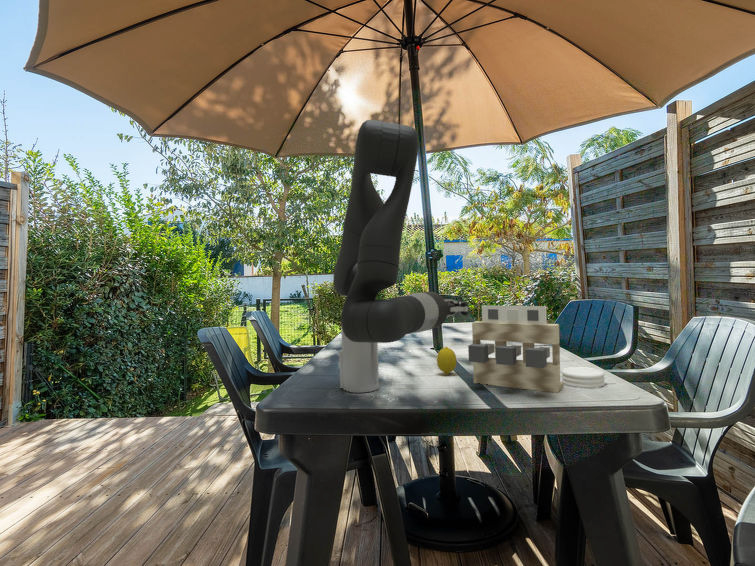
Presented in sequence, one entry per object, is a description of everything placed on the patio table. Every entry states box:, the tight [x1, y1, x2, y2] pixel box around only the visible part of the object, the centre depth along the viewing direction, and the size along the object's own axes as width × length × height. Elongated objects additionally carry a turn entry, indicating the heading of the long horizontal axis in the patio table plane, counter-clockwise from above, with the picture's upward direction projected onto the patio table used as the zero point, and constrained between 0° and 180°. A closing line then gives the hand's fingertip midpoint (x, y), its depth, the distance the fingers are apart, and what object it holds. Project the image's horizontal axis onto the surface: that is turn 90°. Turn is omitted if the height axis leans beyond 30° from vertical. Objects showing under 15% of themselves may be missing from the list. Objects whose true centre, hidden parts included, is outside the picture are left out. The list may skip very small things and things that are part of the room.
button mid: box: [496, 344, 522, 366], centre depth 112 cm, size 4×10×4 cm, turn 146°
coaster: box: [561, 366, 606, 389], centre depth 115 cm, size 10×10×4 cm
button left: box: [467, 343, 495, 363], centre depth 116 cm, size 4×10×4 cm, turn 146°
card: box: [481, 304, 548, 325], centre depth 114 cm, size 16×1×4 cm, turn 56°
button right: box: [525, 346, 551, 368], centre depth 108 cm, size 4×10×4 cm, turn 146°
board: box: [471, 320, 564, 394], centre depth 116 cm, size 21×6×16 cm, turn 56°
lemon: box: [436, 346, 457, 375], centre depth 130 cm, size 6×6×8 cm
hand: (457, 304), depth 103 cm, fingers closed
